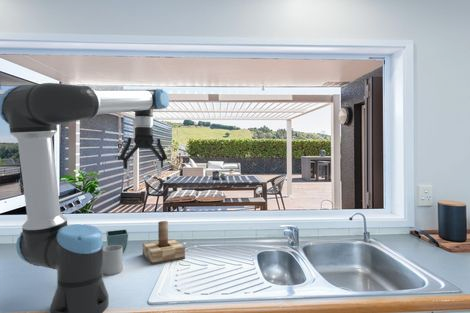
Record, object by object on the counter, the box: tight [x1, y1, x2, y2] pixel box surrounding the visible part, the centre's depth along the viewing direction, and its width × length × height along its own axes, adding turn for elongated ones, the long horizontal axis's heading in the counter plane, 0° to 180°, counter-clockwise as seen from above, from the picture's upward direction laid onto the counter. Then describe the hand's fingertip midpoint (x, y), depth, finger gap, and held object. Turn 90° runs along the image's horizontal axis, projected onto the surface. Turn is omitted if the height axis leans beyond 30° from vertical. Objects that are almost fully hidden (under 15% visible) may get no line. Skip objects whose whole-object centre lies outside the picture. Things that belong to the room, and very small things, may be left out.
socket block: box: [142, 238, 186, 266], centre depth 134 cm, size 14×14×5 cm
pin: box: [157, 220, 169, 248], centre depth 133 cm, size 4×4×14 cm
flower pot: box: [105, 229, 129, 253], centre depth 139 cm, size 9×9×9 cm
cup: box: [102, 245, 124, 276], centre depth 118 cm, size 7×10×9 cm
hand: (143, 176), depth 134 cm, fingers open, 13 cm apart
